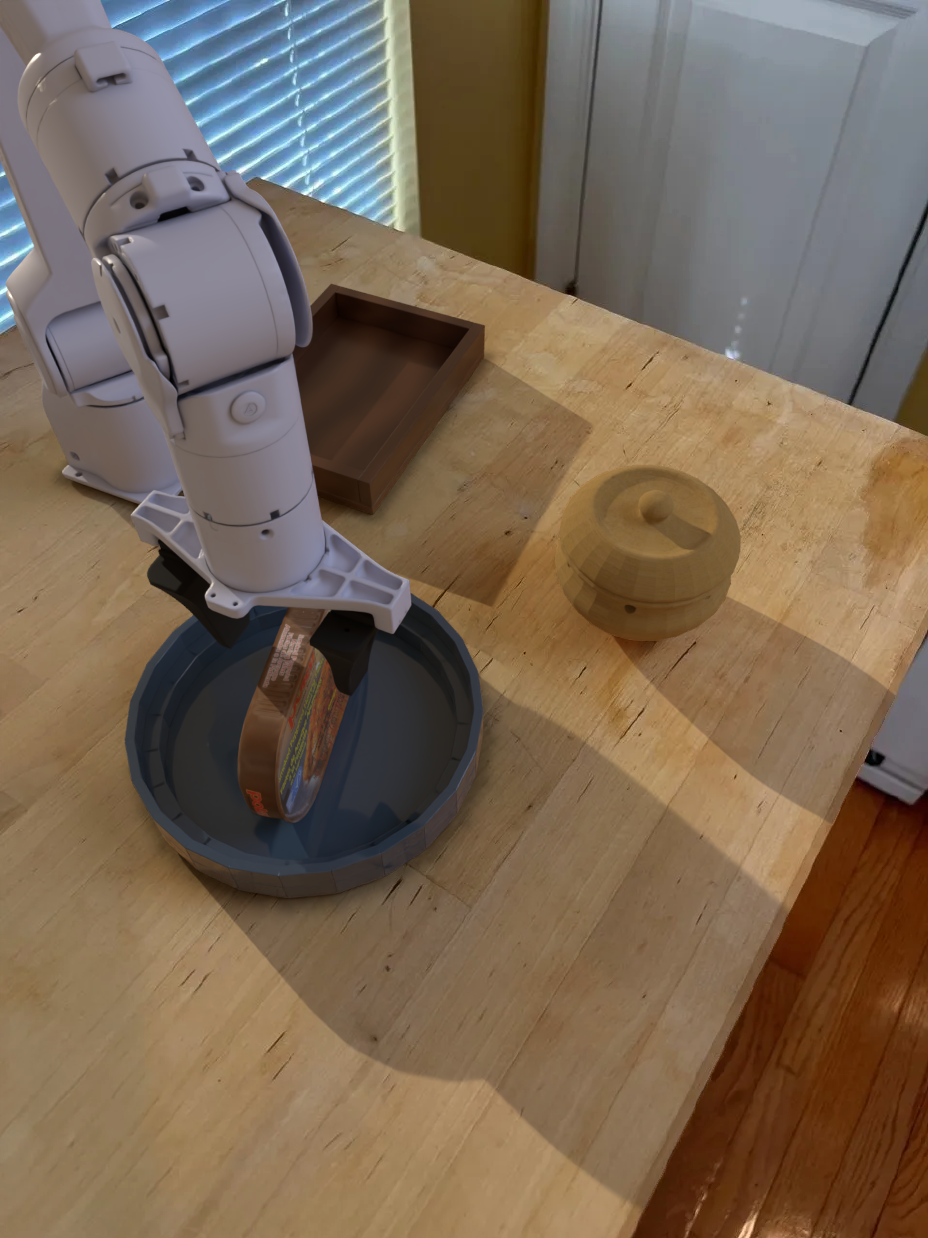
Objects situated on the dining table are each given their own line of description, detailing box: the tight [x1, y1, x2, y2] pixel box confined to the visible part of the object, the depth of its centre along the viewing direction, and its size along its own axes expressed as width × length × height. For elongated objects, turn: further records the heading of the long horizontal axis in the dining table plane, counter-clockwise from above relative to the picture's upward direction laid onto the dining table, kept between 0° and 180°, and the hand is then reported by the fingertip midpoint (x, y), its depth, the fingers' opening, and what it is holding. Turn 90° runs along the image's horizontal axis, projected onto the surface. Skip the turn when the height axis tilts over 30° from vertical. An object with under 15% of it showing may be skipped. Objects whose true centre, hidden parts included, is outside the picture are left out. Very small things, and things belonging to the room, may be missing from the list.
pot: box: [554, 464, 742, 642], centre depth 62 cm, size 12×12×10 cm
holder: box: [292, 283, 486, 515], centre depth 77 cm, size 15×21×3 cm
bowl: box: [124, 592, 484, 899], centre depth 58 cm, size 21×21×4 cm
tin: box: [238, 607, 349, 823], centre depth 56 cm, size 15×3×8 cm, turn 168°
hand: (293, 657), depth 52 cm, fingers open, 7 cm apart
